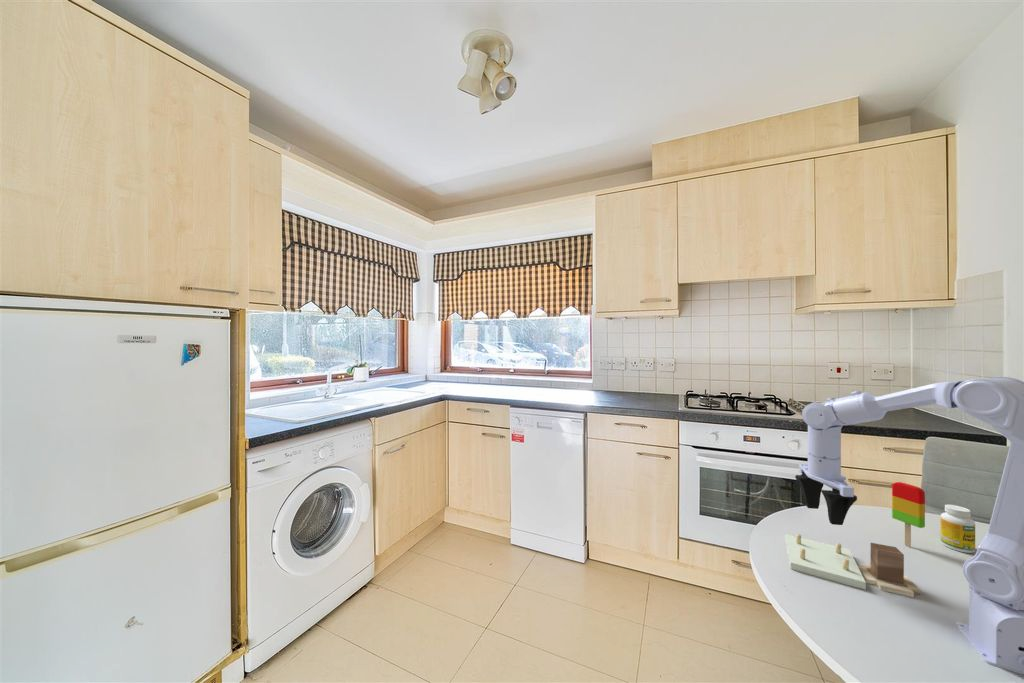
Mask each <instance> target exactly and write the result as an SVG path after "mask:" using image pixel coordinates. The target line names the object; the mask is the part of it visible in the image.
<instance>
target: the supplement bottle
mask: <svg viewBox="0 0 1024 683" xmlns="http://www.w3.org/2000/svg"><path fill="white" fill-rule="evenodd" d="M971 516H972V512H971V510H970V509H969V508H966V507H963V506H960V505H955V504H944V512H942V513H941V514H940V543H941V544H942V545H943V546H944V547H946V548H949V549H951V550H954V551H957V552H961V553H966V554H973V553H976V523H975V521H974V520H973V519H972V518H971Z"/></svg>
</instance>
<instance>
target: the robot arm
mask: <svg viewBox="0 0 1024 683" xmlns="http://www.w3.org/2000/svg"><path fill="white" fill-rule="evenodd" d="M930 405H938V406H941V407H943V408H948V409H956V408H958V409H959V410H961V411H962V412H963V413H964V414H965V413H966V414H967V415H969V416H970V417H972V418H975V419H976V420H979V421H982V422H983V423H986V424H988V425H989V426H991V427H993V428H994V429H995V430H996V431H997V432H998V433H999V434H1001V435H1002V436H1003V437H1004V438H1006V439H1007V440H1008V441H1009V442H1010V444H1009V448H1008V451H1007V456H1006V460H1005V463H1004V467H1003V472H1002V475H1001V479H1000V483H999V487H998V491H997V495H996V498H995V503H994V506H993V510H992V514H991V517H990V520H989V525H988V528H987V533H986V534H985V536H984V537H983V538H982V540H981V542H980V543H979V545H978V546H977V548H976V551H975V554H974V555H973V556H972V557H970V558H968V559H966V561H964V563H963V566H962V573H963V577H965V579H966V581H967V583H968V624H966V623H963V622H960V621H957V622H956V626H957V627H958V629H959V630H960V631H961V633H962V634H963V635H964V637H965V638H966V639H967V641H968V642H969V644H971V646H972V647H973V648H974V650H975V651H976V653H977V654H978V656H980V658H981V659H982V661H983V662H984V663H986V664H988V665H990V666H995V667H996V668H997V667H998V668H1001V669H1004V670H1006V671H1010V672H1013V673H1017V674H1019V675H1020V674H1021V675H1024V381H1023V380H1021V379H1017V378H1015V377H1014V378H1013V377H1010V376H1009V377H1007V376H996V377H990V378H972V379H971V378H970V379H967V380H959V381H958V380H957V381H956V380H955V381H947V382H946V381H945V382H935V383H930V384H926V385H922V386H917V387H913V388H908V389H906V390H901V391H895V392H893V393H887V394H884V395H875V394H873V393H871V392H867V391H865V392H862V391H861V390H855V391H852V392H850V395H847V396H844V397H840V398H835V397H828V398H827V399H826V401H823V402H811V403H809V404H807V405H805V406H804V407H803V408H802V411H801V416H802V417H801V418H802V420H803V422H804V423H805V424H806V425H807V464H803V463H802V464H801V463H799V464H798V473H800V474H796V475H795V476H794V477H795V480H796V481H797V483H798V485H799V487H800V489H801V491H802V495H803V498H804V503H805V505H806V508H808V509H817V510H818V509H819V506H820V503H821V495H823V498H824V501H825V503H826V507H827V516H828V521H829V523H830V524H831V525H835V526H836V525H837V526H843V524H844V522H845V519H846V517H847V514H848V511H849V510H850V508H851V507H852V506H853V505H854V503H856V502H857V501H858V496H857V495H855V494H854V493H855V490H854V487H853V486H851V485H850V484H849V483H847V477H846V476H844V475H842V428H843V426H850V425H856V424H862V423H869V422H870V423H871V422H875V421H880V420H882V419H883V418H884V417H885V415H886V414H887V413H888V412H890V411H891V412H892V411H897V410H904V409H911V408H917V407H924V406H930ZM824 485H825V486H827V487H829V490H827V489H823V487H824ZM830 489H831V490H830ZM821 493H822V494H821Z"/></svg>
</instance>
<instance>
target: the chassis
mask: <svg viewBox="0 0 1024 683" xmlns="http://www.w3.org/2000/svg"><path fill="white" fill-rule="evenodd" d="M784 542H785V547H786V551H787V557H788V562H789V567H790V570H793V571H796V572H800V573H803V574H807V575H811V576H814V577H818V578H821V579H825V580H828V581H829V580H830V581H832V582H836V583H840V584H843V585H847V586H850V587H853V588H858V589H861V590H864V591H865V590H867V589H866V588H867V583H866V581H865V580H864V578H863V576H862V574H861V572H860V570H859V568H858V566H859V565H858V564H857V562H856V560H855V558H854V556H853V554H852V551H851V550H850V548H846V547H842V544H841V543H840V542H836V543H835V545H833V544H830V543H829V544H828V543H826V542H820V541H816V540H812V539H807V538H804V537H802V535H801V534H798V533H796V534H795V536H794V535H790V534H786V533H785V534H784Z"/></svg>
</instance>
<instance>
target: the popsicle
mask: <svg viewBox="0 0 1024 683" xmlns="http://www.w3.org/2000/svg"><path fill="white" fill-rule="evenodd" d="M891 518H892V519H895V520H897V521H900V522H903V523H904V546H906V547H908V548H910V547H911V546H912V539H911V538H912V530H911V529H912V526H914V527H915V528H916V527H917V528H919V529H923V528H925V527H926V492H925V491H924V489H923V488H921V487H918V486H915V485H913V484H908V483H905V482H903V481H902V482H901V481H898V482H897V481H895V482H893V483H892V486H891Z"/></svg>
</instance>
